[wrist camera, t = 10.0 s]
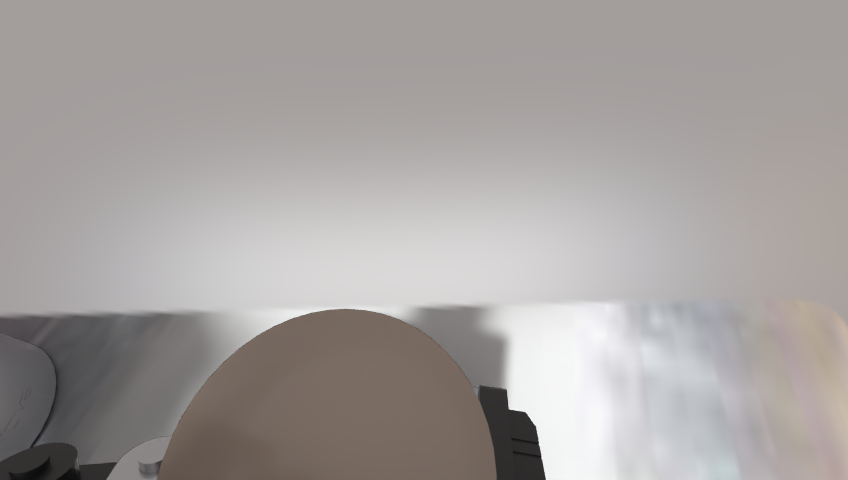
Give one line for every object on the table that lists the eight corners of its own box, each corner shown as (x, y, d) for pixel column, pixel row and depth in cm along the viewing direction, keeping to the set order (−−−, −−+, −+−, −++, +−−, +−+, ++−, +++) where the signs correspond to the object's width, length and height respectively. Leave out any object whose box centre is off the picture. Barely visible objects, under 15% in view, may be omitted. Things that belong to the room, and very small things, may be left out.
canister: (293, 560, 13) (72, 662, 5) (337, 390, 15) (235, 292, 8) (457, 596, 12) (480, 773, 5) (473, 412, 15) (506, 329, 7)
